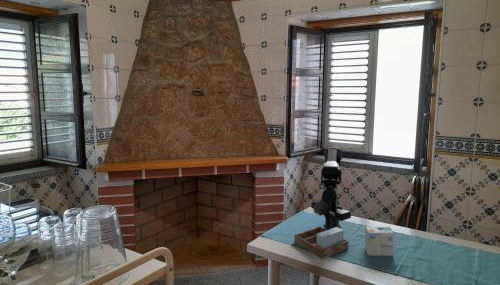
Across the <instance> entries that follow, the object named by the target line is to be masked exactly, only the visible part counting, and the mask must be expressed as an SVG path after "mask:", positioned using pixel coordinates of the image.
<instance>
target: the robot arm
mask: <svg viewBox="0 0 500 285" xmlns="http://www.w3.org/2000/svg"><path fill="white" fill-rule="evenodd" d="M323 158H324V160H325V162H324V163H323V166H322V167H321V174H320V175H321V176H320V184H322V185H323V189H322V193H321V194H322V196H321V197H320V199H317V200H314V201H312V202H311V204H310V205H311V209H313V212H314V214H316V215H318V216H323V217H324V218H325V222H324V224H323V227H325V228H328V230H329V229H332V228H335V227H338V228H340V229H341V228H342V225H340V222H343V221H345V220H350V219H351V218H352V213H351V211H350V210H348V209H347V210H346V209H344V208H342V205H341V201H340V196H339V195H338V185H340V184H341V182H342V170H341V168H339V166H340V165H341V161H342V160H343V150H341V149H339V147H338V146H328V147H327V148H326V149H324V153H323Z"/></svg>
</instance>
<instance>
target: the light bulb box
mask: <svg viewBox="0 0 500 285" xmlns="http://www.w3.org/2000/svg"><path fill="white" fill-rule="evenodd" d="M364 229H365V230H364V232H365V237H364V238H365V239H364V250H365V251H366V254H367V256H377V257H378V256H379V257H380V256H381V257H382V256H383V257H384V256H385V257H386V256H387V257H388V256H389V257H393V256H394V235H395V233H394V231H393V230H392V228H391V227H390V225H389V226H368V225H367V226H365V228H364Z"/></svg>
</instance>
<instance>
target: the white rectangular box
mask: <svg viewBox="0 0 500 285" xmlns="http://www.w3.org/2000/svg"><path fill="white" fill-rule="evenodd" d="M343 238H344V229H342V228H341V227H340V228H338V227H335V228H332V229H329V228H328V229H326V231H324V232H321V233H318V234H317V246H319V247H320V248H322V250H324V249H326V248H329V247H332V246H334V245H337V244H339V243H342V242H343Z"/></svg>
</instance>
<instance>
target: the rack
mask: <svg viewBox="0 0 500 285" xmlns="http://www.w3.org/2000/svg"><path fill="white" fill-rule="evenodd" d="M326 230H327V229H326V228H324V227H322V226H316V227H314V228H311V229H308V230H305V231H302V232H299V233H296V234H294V235H293V236H294V243H296V244H297V245H299V246H300V247H302V248H303V249H306V251H308V252H309V253H312V254H313V255H315V256H316V257H318V258H320V259H325V258H328V257H331V256H333V255H335V254H338V253H341V252H343V251H345V250H348V249H349V240H348V239H345V238H344V237H343V242H342V243H339V244H337V245H334V246H332V247H329V248H326V249H324V250H322V248H320V247H319V246H317V234H318V233H321V232H324V231H326Z"/></svg>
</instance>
